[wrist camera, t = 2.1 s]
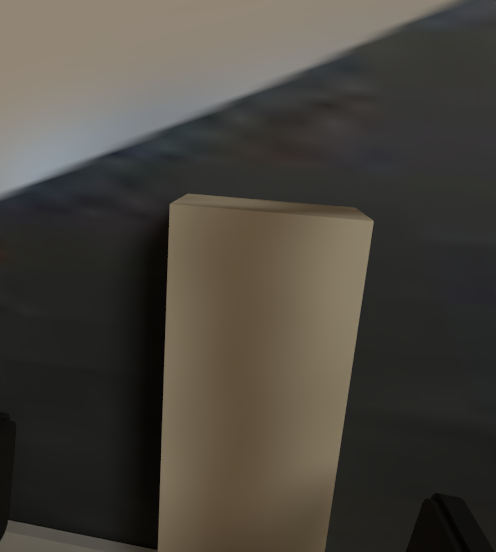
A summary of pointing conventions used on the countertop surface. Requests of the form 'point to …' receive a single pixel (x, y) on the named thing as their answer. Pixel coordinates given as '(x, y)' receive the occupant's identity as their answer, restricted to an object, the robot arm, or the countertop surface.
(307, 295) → the birch tile
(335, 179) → the countertop surface
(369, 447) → the countertop surface
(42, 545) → the white flat rectangular tray
